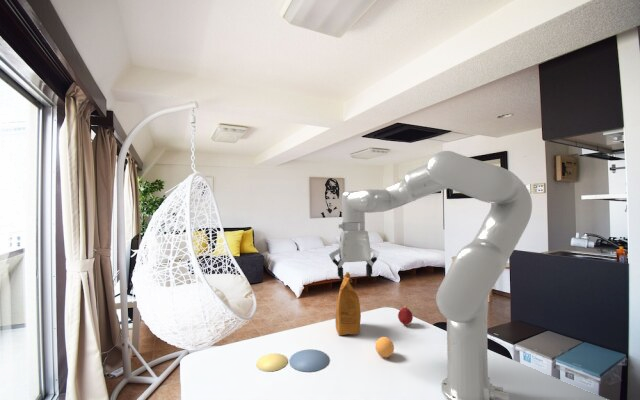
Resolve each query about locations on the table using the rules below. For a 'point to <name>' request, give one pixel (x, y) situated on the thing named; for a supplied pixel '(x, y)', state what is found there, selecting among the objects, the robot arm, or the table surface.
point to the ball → (384, 347)
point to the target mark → (309, 360)
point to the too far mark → (272, 362)
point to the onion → (405, 316)
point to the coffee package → (347, 309)
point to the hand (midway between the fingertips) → (355, 277)
